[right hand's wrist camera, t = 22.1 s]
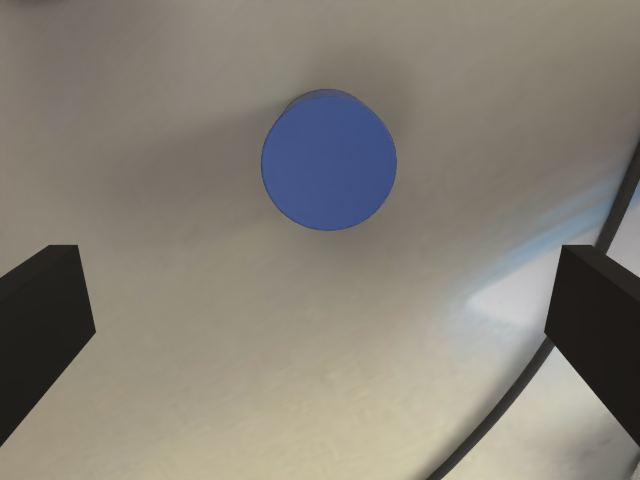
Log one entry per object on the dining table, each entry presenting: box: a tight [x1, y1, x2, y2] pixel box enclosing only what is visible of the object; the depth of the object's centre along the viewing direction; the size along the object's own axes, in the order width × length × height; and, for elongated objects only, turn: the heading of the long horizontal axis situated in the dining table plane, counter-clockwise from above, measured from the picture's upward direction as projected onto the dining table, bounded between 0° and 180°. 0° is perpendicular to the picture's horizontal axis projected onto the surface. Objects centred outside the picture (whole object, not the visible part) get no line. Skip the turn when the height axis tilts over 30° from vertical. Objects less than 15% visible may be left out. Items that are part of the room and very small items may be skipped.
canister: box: [261, 89, 397, 231], centre depth 28 cm, size 7×7×8 cm
